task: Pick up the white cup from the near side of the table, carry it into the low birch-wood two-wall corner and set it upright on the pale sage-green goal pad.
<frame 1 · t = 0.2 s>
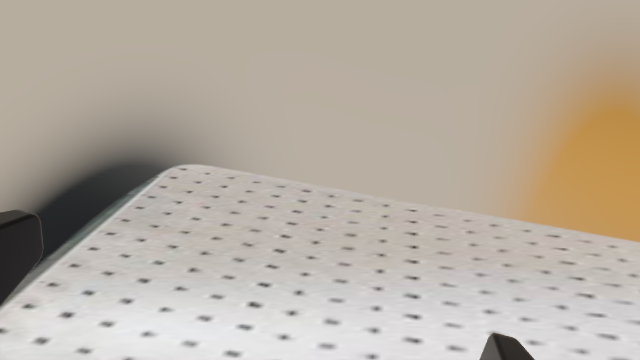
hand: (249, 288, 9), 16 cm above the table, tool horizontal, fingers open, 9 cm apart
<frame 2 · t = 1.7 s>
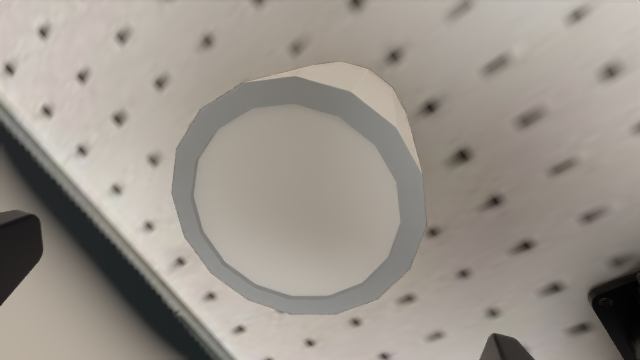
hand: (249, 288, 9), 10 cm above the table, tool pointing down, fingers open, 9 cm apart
white cup: (337, 132, 18), on the table
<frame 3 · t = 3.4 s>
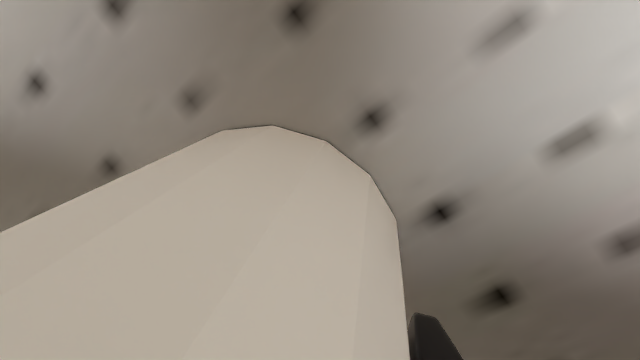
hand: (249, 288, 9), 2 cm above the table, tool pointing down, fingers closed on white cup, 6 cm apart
white cup: (275, 243, 10), on the table, touching gripper
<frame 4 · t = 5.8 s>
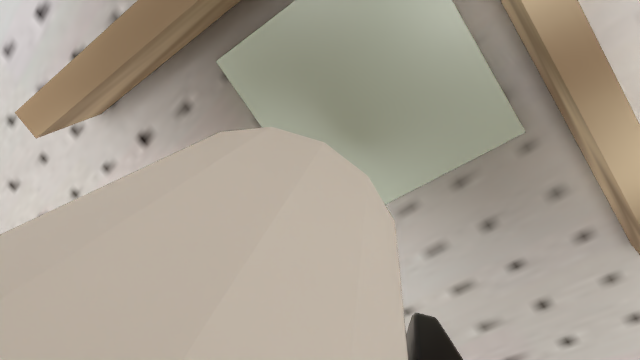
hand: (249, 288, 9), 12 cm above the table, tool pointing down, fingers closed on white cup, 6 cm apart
goal pad: (365, 93, 19), on the table
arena: (365, 93, 19), on the table
white cup: (273, 244, 10), point 10 cm above the table, touching gripper
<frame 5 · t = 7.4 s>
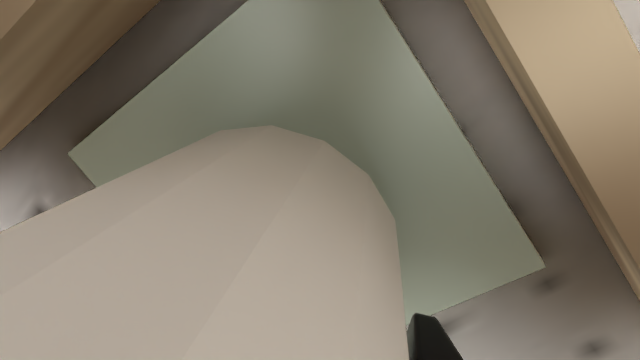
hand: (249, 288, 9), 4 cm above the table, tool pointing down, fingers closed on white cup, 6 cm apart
goal pad: (294, 201, 12), on the table
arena: (294, 201, 12), on the table
white cup: (274, 243, 10), point 2 cm above the table, touching gripper
when the fingers open (3 cm above the table, at t = 8.4 s): white cup drops 1 cm, resting on goal pad.
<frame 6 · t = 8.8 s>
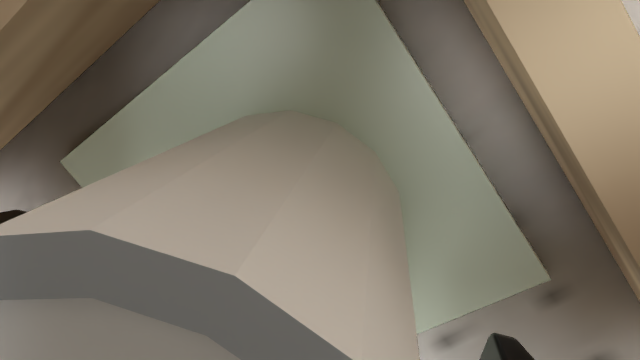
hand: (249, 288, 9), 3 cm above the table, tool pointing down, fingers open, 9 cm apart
goal pad: (292, 211, 12), on the table
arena: (292, 211, 12), on the table
white cup: (292, 216, 12), resting on goal pad
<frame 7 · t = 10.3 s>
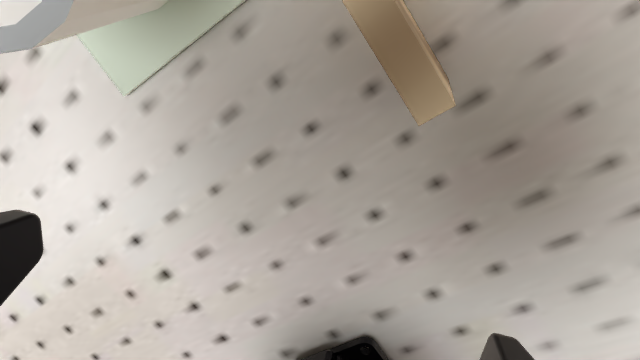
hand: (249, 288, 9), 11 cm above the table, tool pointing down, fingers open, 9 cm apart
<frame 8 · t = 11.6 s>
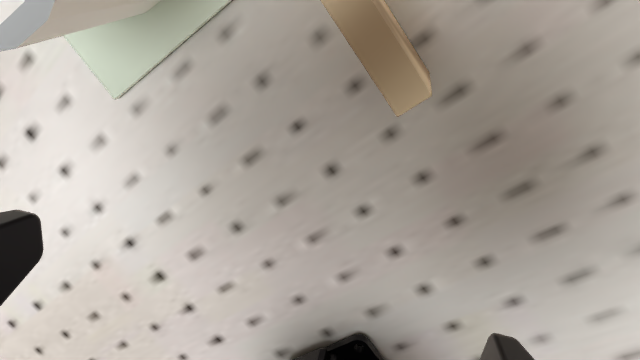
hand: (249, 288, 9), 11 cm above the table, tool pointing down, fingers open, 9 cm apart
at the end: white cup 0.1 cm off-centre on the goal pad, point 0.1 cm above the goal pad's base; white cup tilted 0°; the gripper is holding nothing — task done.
